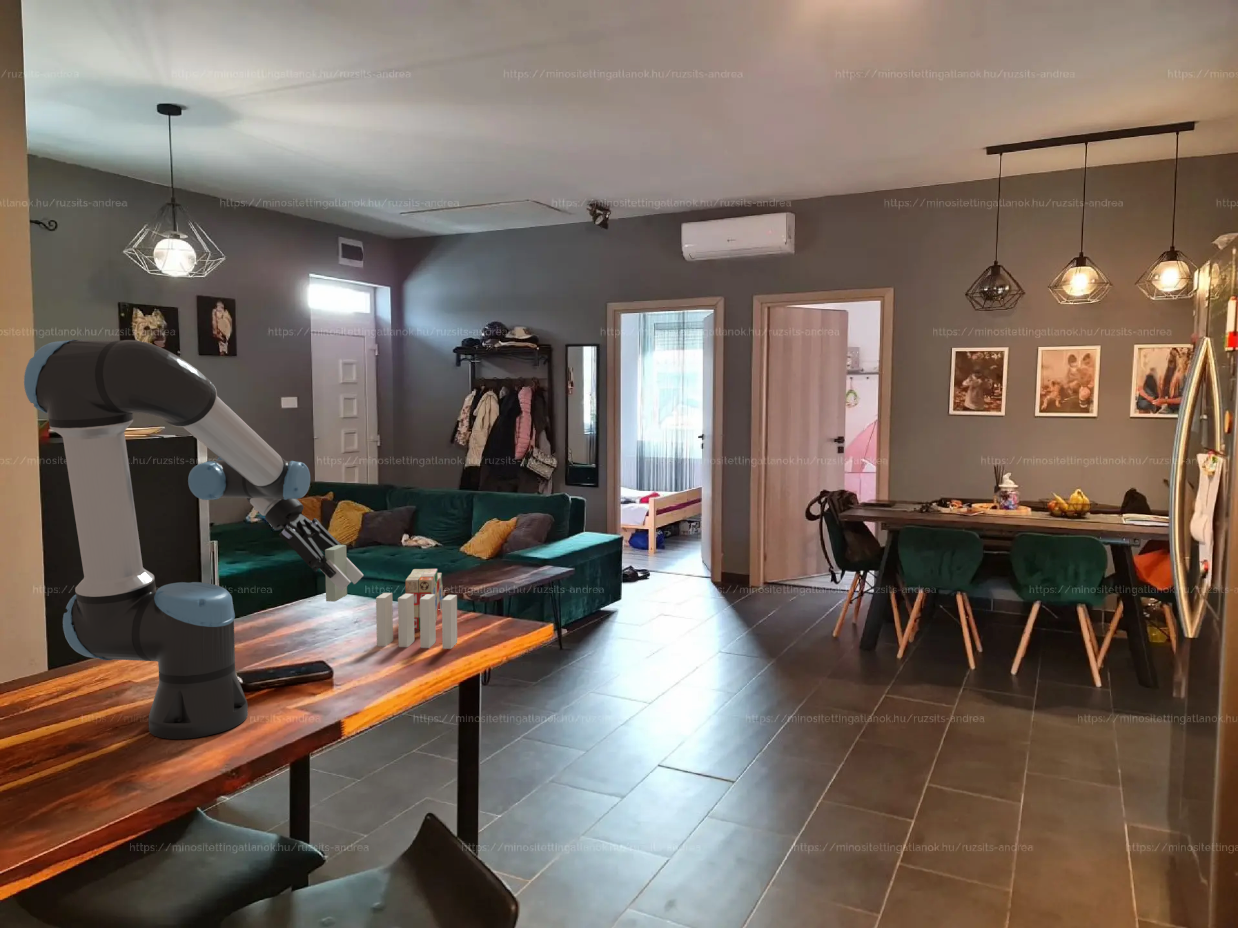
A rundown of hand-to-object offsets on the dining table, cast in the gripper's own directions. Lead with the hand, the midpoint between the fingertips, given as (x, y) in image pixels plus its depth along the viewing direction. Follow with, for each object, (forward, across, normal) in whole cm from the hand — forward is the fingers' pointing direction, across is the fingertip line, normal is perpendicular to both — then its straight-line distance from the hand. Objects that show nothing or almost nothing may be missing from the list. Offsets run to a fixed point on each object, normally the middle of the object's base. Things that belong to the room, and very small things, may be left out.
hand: (352, 582), depth 179 cm
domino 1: (+13, -9, -9) cm, 19 cm away
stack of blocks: (+15, -32, -8) cm, 36 cm away
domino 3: (+21, -9, -2) cm, 23 cm away
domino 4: (+24, -9, +2) cm, 26 cm away
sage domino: (0, 0, -5) cm, 5 cm away
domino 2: (+17, -9, -5) cm, 20 cm away
